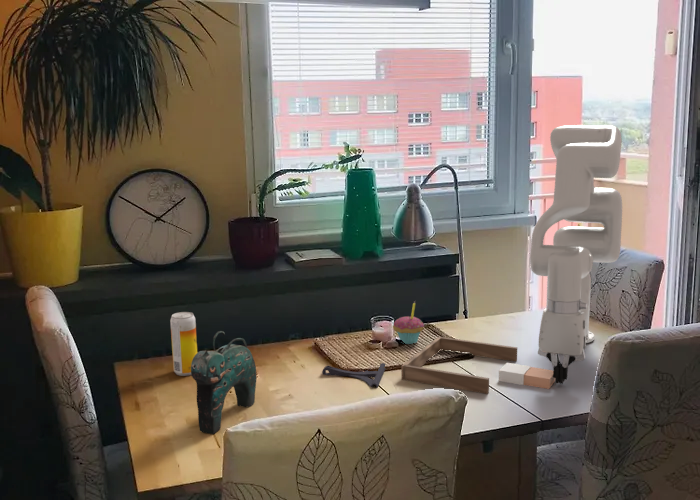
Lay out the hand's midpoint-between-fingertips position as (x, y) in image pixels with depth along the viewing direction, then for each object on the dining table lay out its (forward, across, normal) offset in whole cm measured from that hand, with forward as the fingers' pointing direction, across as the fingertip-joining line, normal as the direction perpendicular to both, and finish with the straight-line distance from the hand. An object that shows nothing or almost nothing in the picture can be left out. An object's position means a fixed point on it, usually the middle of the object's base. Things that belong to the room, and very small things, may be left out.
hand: (560, 381), depth 177 cm
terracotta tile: (+2, +5, 0) cm, 5 cm away
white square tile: (+1, +11, 0) cm, 11 cm away
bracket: (+2, +47, +14) cm, 50 cm away
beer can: (+1, +86, +30) cm, 92 cm away
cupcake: (+1, +45, -16) cm, 48 cm away
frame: (+1, +24, 0) cm, 24 cm away
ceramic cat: (+2, +61, +48) cm, 78 cm away
